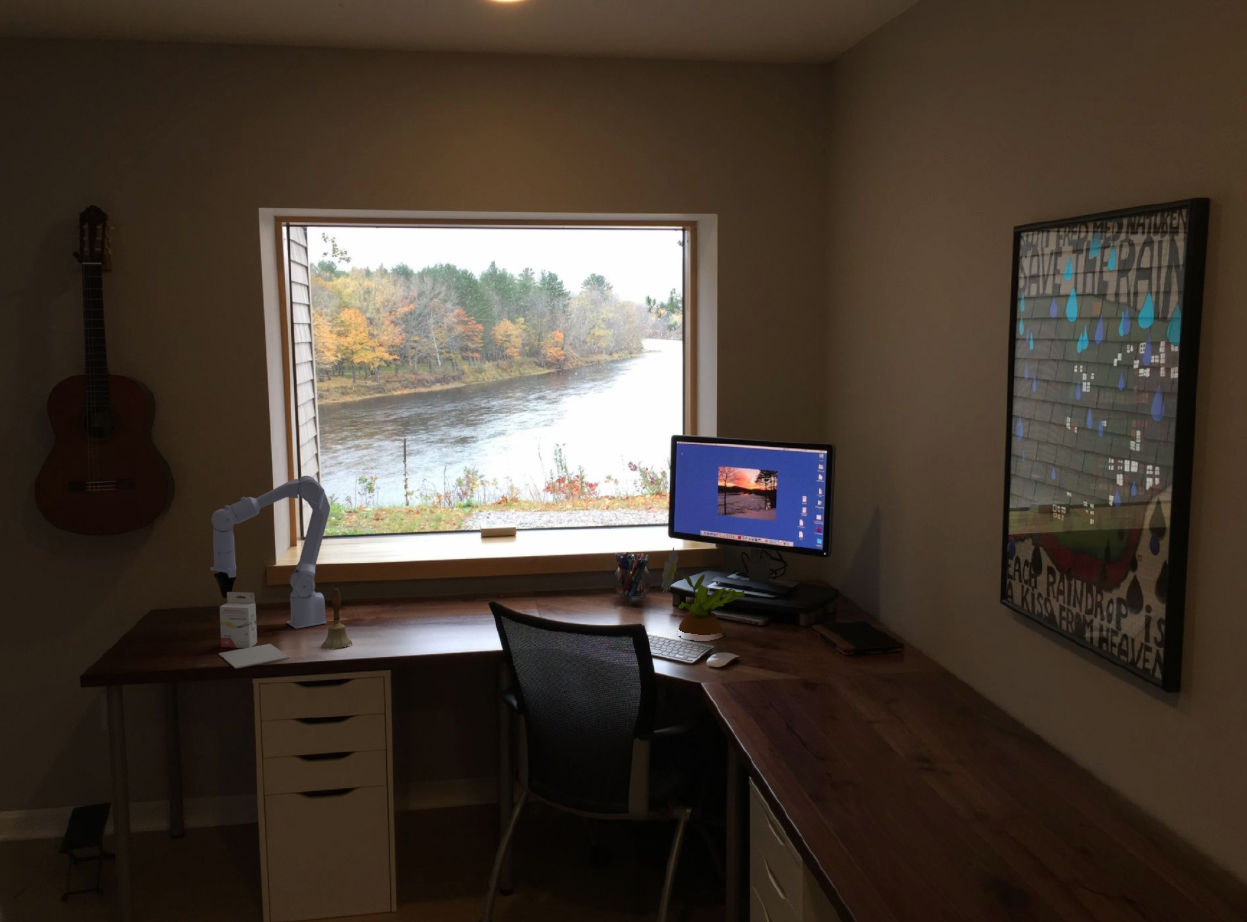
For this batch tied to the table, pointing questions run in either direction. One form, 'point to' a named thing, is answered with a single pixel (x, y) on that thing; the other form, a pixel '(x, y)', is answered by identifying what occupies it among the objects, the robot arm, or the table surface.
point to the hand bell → (336, 626)
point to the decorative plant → (698, 602)
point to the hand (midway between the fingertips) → (226, 597)
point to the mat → (253, 656)
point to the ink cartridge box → (238, 621)
